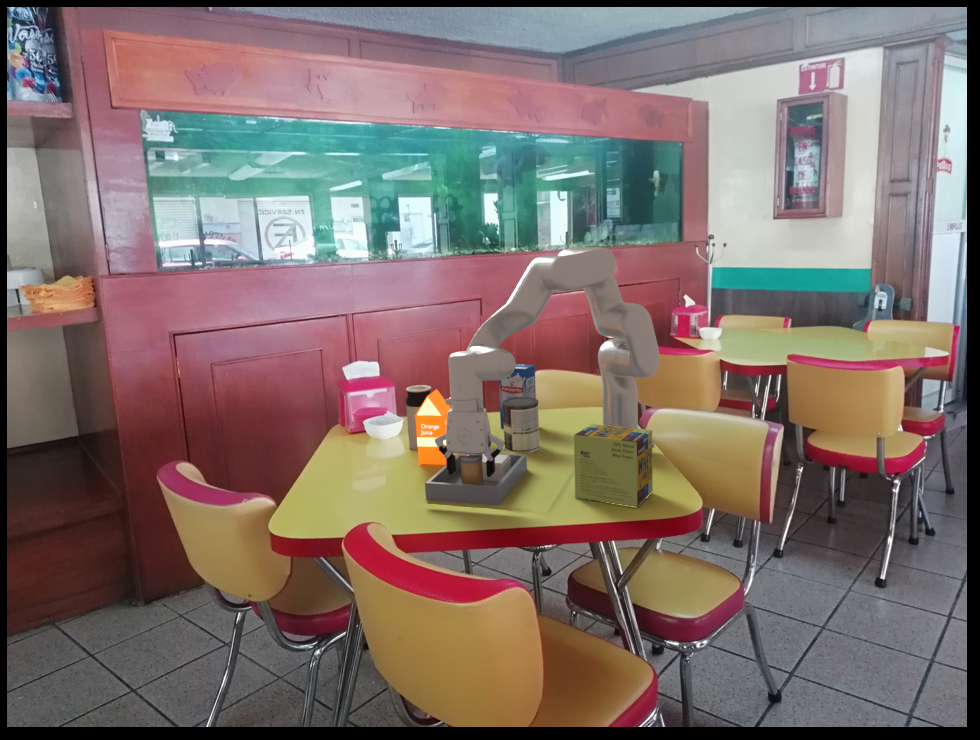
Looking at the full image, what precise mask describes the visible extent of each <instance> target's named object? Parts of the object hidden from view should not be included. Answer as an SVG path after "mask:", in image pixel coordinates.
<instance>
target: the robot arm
mask: <svg viewBox="0 0 980 740" xmlns="http://www.w3.org/2000/svg"><path fill="white" fill-rule="evenodd" d="M616 268H617V260H616V257H615V255H614V253H613V252H612V251H611V250H610V249H608V248H606V247H601V246H600V247H598V246H596V247H593V246H592V247H589V246H588V247H581V246H580V247H568V248H565V249H563V250H561V251H559V253H558V255H541V256H538V257H536V258H534V259H533V260H531V262H530V263H529V265H528V266H527V268H526V269H525V271H524V273H523V275H522V277H521V278H520V279H519V281H518V283H517V284H516V287H515V288H514V290H513V292H512V294H511V295H510V297H509V299H508V300H507V302H506V303H505V304H504V305H503V306H502V307H501V308H499V309H498V310H497V311H496V312H495V313H494V314H491V316H490V317H489V318H488V319H487V320H486V321H484V323H482V324H481V325H480V327H479V328H478V329H477V331H476V333H475V334H474V335H473V337H472V339H471V340H470V342H469V344H468V346H467V348H466V350H462V351H455V352H453V353H451V354H450V355H449V356H448V375H449V379H448V380H449V394H450V397H449V398H446V399H445V402H446V404H447V405H449V406H450V408H451V409H450V410H449V411H448V414H447V424H446V434H444V435H442V436H440V437H438V438H436V439H435V443H436V445H437V446H438V448H439V451H440V452H441V453H442V454H443V455H444V457H445V458H446V464H447V470H448V472H449V474H450V475H451V474H453V473H454V472H455V471H456V462H455V456H456V455H455V454H459V453H466V454H484V455H485V456H486V458H487V459H488V460H487V461H486V470H487V476H488V477H491V476H492V474H493V473H494V472H495V457H496V456H497V455H498V454H499V453H501V452H502V450H503V448H504V447H505V440H504V439H501V438H499V437H497V436H496V435H494V434H492V432H491V426H490V419H489V416H488V413H487V408H483V407H484V396H483V381H485V382H486V381H499V380H502V379H505V378H507V377H509V376H510V375H511V374H512V373H513V371H514V369H515V365H516V364H517V363H516V358H515V357H514V355H513V354H512V353H511V352H510V351H508V350H506V349H504V348H501V347H499V346H500V345H501V344H502V342H503V341H504V340H506V339H507V338H508V337H510V336H511V335H513V334H514V333H517V332H520V331H522V330H523V329H526V328H528V327H530V326H532V325H534V324H535V323H536V322H537V321H538V319H539V317H540V316H541V314H542V312H543V311H544V309H545V307H546V306H547V304H548V303H549V301H550V299H551V297H552V295H553V293H554V292H565V293H567V292H572V291H574V292H575V291H577V290H583V291H584V292H585V295H586V297H587V301H588V305H589V308H590V313H591V317H592V320H593V323H594V327H595V330H596V332H597V333H598V334H599V335H601V336H602V337H606V338H609V339H607V340H606V341H604V342H603V343H602V344H601V346H600V347H599V349H598V353H597V361H598V368H599V371H600V376H601V386H602V387H601V388H602V389H601V391H602V425H609V426H620V427H629V428H637V429H639V409H638V408H639V406H638V405H639V404H638V403H639V402H638V401H639V399H638V397H639V391H638V390H639V389H638V384H637V381H636V379H635V378H638V379H648V378H651V377H653V376H654V375H655V374H656V373H657V371H658V370H659V367H660V361H661V359H660V358H661V357H660V356H661V355H660V351H659V345H658V340H657V336H656V332H655V328H654V324H653V321H652V317H651V314H650V313H649V311H648V310H647V308H645V306H643V305H642V304H638V303H633V302H626V301H624V300H623V297H622V295H621V292H620V291H621V290H620V289H619V284H618V282H617V279H616V277H615V275H614V274H615V272H616ZM444 440H446V446H445V445H444V443H443V441H444ZM492 443H493V444H495V445H496V448H495V450H493V448H492ZM655 444H656V443H655V440H652V449H653V448H655ZM453 453H454V455H453Z"/></svg>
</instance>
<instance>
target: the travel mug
mask: <svg viewBox="0 0 980 740" xmlns="http://www.w3.org/2000/svg"><path fill="white" fill-rule="evenodd" d="M431 390H432V386H430V385H426V384H417V385H411V386H408V387H406V389H405V391H406V394H407V396H406V399H405V407H406V417H407V418H406V420H407V431H408V433H407V434H408V444H409V445H408V446H409V448H410V449H412V450H415V451H418V446H417V430H416V417H415V415H416V414H417V412H418V411H419V409H420V407H421V406H422V404H423V402H424V401H425V399H426V397H427V396H428V395H429V394H431Z"/></svg>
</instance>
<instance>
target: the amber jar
mask: <svg viewBox="0 0 980 740" xmlns="http://www.w3.org/2000/svg"><path fill="white" fill-rule="evenodd" d="M482 459H483V454H466V453H462V454H460V461H461V478H462V484H470V485H484V483H483V463H482Z"/></svg>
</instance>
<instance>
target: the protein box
mask: <svg viewBox="0 0 980 740" xmlns="http://www.w3.org/2000/svg"><path fill="white" fill-rule="evenodd" d="M652 441H653V429H647V428H645V429H644V428H638V429H637V428H629V427H620V426H609V425H603V424H597V423H591V424H590V425H589V426H587V427H584V428H583V429H582V430H580V431H578V432H576V433H575V434H574V435H573V443H574V444H573V449H574V451H573V453H574V455H573V456H574V489H575V490H574V497H576V499H580V498H581V500H585V499H588V500H587V501H591V500H596V501H603V502H609V503H615V504H622V505H628V506H634V507H638V506H639V505H640V504H641V503H642V502H643V501H644V500H645V499H646V497H647V496H648V495H649V494H650V493H651V492H652V491H653V489H654V488H653V484H654V481H653V448H652ZM653 492H654V491H653ZM646 500H647V499H646ZM646 500H645V501H646ZM596 501H595V502H596ZM645 501H644V502H645ZM644 502H643V503H644ZM643 503H642V504H643ZM642 504H641V505H642ZM641 505H640V506H641ZM640 506H639V507H640ZM639 507H638V508H639Z"/></svg>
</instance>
